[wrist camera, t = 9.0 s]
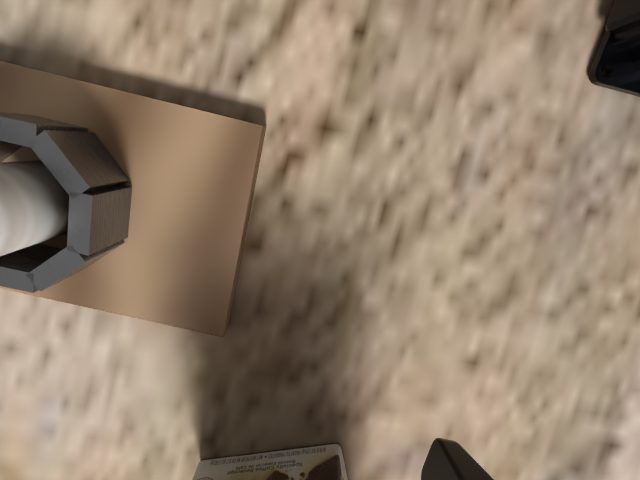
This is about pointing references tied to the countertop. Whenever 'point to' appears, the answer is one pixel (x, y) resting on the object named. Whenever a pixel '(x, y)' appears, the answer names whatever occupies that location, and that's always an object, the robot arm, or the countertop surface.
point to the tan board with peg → (139, 199)
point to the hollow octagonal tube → (84, 200)
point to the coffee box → (278, 465)
